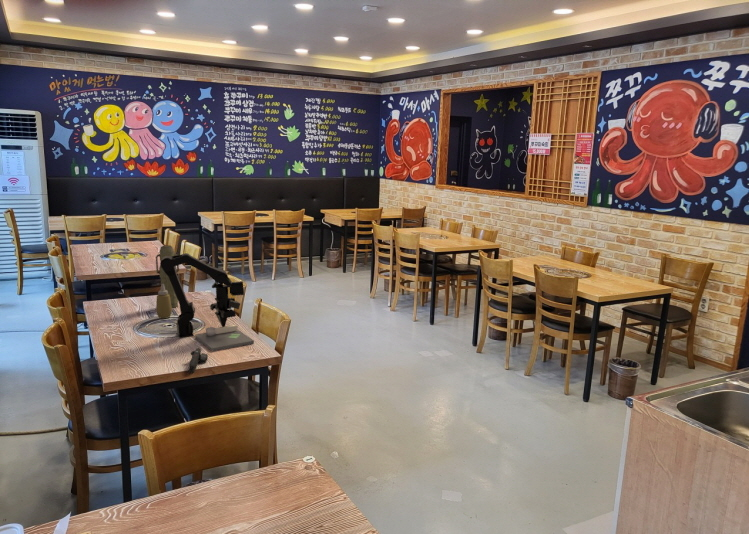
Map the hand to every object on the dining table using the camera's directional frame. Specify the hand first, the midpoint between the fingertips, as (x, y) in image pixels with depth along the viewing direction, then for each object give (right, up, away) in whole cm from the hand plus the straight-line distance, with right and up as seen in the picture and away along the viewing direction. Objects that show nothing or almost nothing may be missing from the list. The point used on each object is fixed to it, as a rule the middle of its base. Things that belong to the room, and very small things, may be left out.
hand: (223, 327), depth 276 cm
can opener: (0, -12, -42) cm, 43 cm away
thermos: (-42, +6, +43) cm, 60 cm away
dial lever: (+1, -2, -5) cm, 6 cm away
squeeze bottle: (-38, +2, +24) cm, 45 cm away
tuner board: (+4, -5, -11) cm, 13 cm away
